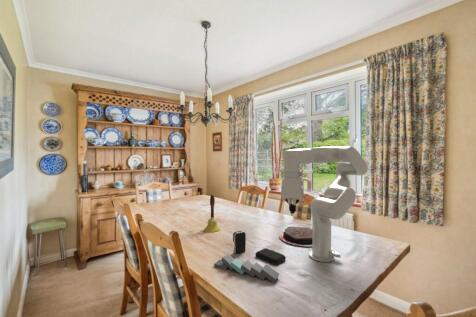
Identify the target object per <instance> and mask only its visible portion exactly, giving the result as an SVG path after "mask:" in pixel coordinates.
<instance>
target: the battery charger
mask: <svg viewBox="0 0 476 317" xmlns="http://www.w3.org/2000/svg"><path fill="white" fill-rule="evenodd" d="M246 237H247V234H246V232H245V231H243V230H238V231H234V232H233V234H232V242H233V247H234V248H233V253H234V254H237V255H238V254H241V253H244V252H246V243H247V242H246V241H247V238H246Z"/></svg>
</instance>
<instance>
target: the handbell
mask: <svg viewBox="0 0 476 317" xmlns="http://www.w3.org/2000/svg"><path fill="white" fill-rule="evenodd" d="M215 202H216V201H215V195H214V194H211V195H210V198H209V206H210V218H208V220H207V225H206V226H205V228H204V229H203V231H204V232H205V233H209V234H211V233H212V234H213V233H218V232H221V231H222V229H221V227H219V226H218V221H217V219H216V218H215V211H214V210H215V209H214V208H215V205H216V203H215Z"/></svg>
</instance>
